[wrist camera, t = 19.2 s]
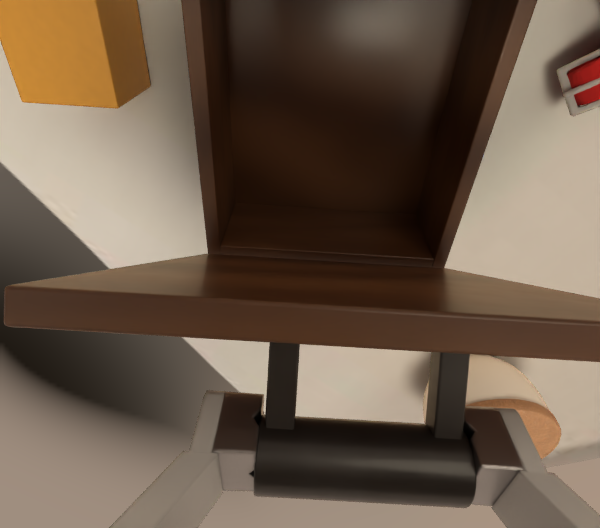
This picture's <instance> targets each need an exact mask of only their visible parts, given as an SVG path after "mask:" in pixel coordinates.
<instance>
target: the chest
mask: <svg viewBox="0 0 600 528" xmlns="http://www.w3.org/2000/svg"><path fill="white" fill-rule="evenodd" d="M181 2H182V11H183V21H184V30H185V40H186V49H187V59H188V68H189V78H190V87H191V96H192V106H193V115H194V125H195V134H196V144H197V153H198V163H199V172H200V182H201V191H202V200H203V210H204V219H205V229H206V238H207V248H208V254H223V255H239V256H255V257H271V258H287V259H304V260H320V261H336V262H352V263H368V264H384V265H401V266H417V267H433V268H444V267H445V264H446V261H447V258H448V255H449V252H450V249H451V246H452V244H453V241H454V238H455V235H456V232H457V229H458V226H459V224H460V221H461V218H462V215H463V212H464V209H465V206H466V203H467V201H468V198H469V195H470V192H471V189H472V186H473V183H474V180H475V178H476V175H477V172H478V169H479V166H480V163H481V160H482V157H483V155H484V152H485V149H486V146H487V143H488V140H489V137H490V135H491V132H492V129H493V126H494V123H495V120H496V117H497V114H498V112H499V109H500V106H501V103H502V100H503V97H504V94H505V91H506V89H507V86H508V83H509V80H510V77H511V74H512V71H513V69H514V66H515V63H516V60H517V57H518V54H519V51H520V48H521V46H522V43H523V40H524V37H525V34H526V31H527V28H528V25H529V23H530V20H531V17H532V14H533V11H534V8H535V5H536V3H537V0H181Z"/></svg>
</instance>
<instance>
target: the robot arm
mask: <svg viewBox="0 0 600 528" xmlns="http://www.w3.org/2000/svg"><path fill="white" fill-rule="evenodd" d="M263 406H264V394H252V393H238V392H226V391H210V390H207V391H206V393H205V395H204V397H203V401H202V405H201V409H200V412H199V416H198V419H197V423H196V427H195V431H194V434H193V438H192V442H191V445H190V449H189V451H183V452H182V453H181V454H180V455H179V456H178V457H177V458H176V459H175V460H174V461H173V462H172V463H171V464H170V465H169V466H168V467H167V468H166V469H165V470H164V471H163V472H162V473H161V475H160V476H159V477H158V478H157V479H156V480H155V481H154V482H153V483H152V484H151V485H150V486H149V487H148V488H147V489H146V490H145V491H144V492H143V493H142V494H141V495H140V496H139V497H138V498H137V500H135V502H134V503H133V504H132V505H131V506H130V507H129V508H128V509H127V510H126V511H125V512H124V513H123V514H122V515H121V516H120V517H119V518H118V519H117V520H116V521H115V522H114V523H113V524H112V525H111V526H110V527H109V528H198V527H199V525H200V524H201V523H202V521H203V520H204V519H205V517H206V516H207V514H208V513H209V511H210V510H211V509H212V507H213V506H214V505H215V503H216V502H217V500H218V499H219V498H220V496H221V495H222V493H223V490H228V491H254V466H255V462H256V452H257V443H258V435H259V421H260V418H261V416H262V415H263V414H264V411H263ZM463 431H464V432H465V434H466V436H467V438H468V440H469V442H470V445H471V448H472V452H473V456H474V461H475V467H476V493H475V497H474V500H473V502H472V504H474V505H486V506H492V509H493V510H494V512H495V513H496V514H497V516H498V517H499V518H500V520H501V521H502V522H503V523H504V524H505V526H506V527H507V528H600V515H599V514H598V513H597V512H596V511H595V510H594V509H593V508H592V507H591V506H589V505H588V504H587V503H586V502H585V501H584V500H583V499H582V498H581V497H580V496H578V495H577V494H576V493H575V492H574V491H573V490H572V489H571V488H570V487H569V486H567V485H566V484H565V483H564V482H563V481H562V480H561V479H560V478H559V477H558V476H556V475H555V474H554V473H550V472H547V470H546V468H545V466H544V464H543V462H542V460H541V458H540V455H539V453H538V451H537V449H536V447H535V445H534V443H533V441H532V439H531V437H530V435H529V433H528V431H527V429H526V427H525V425H524V422H523V420H522V418H521V416H520V414H519V413H518V412H517V411H516V410H515V409H512V408H493V407H482V406H465V414H464V425H463Z"/></svg>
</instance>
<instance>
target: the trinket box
mask: <svg viewBox="0 0 600 528" xmlns="http://www.w3.org/2000/svg"><path fill="white" fill-rule="evenodd" d="M428 386H429V382H428V384H427V386H426V389H425V393H424V399H423V414H424V422H425V421H426V410H427V398H428ZM465 406H482V407H493V408H512V409H515V410H516V411H517V412H518V413H519V414H520V416H521V418H522V420H523V422H524V425H525V427H526V429H527V431H528V433H529V435H530V437H531V439H532V441H533V443H534V445H535V447H536V449H537V451H538V453H539V455H540V458H541V459H542V458H544V457H546V456H547V455H548V454H549V453H551V452H552V451H553V450H554V449H555V447H556V446H557V445H558V443H559V441H560V437H561V428H560V426H559V424H558V422H557V420H556V418H555V417H554V415H553V414H552V413H551V412H550V411H549V409H548V407H547V405H546V403H545V401H544V400H543V398H542V396H541V395H540V393H539V392H538V391H537V389H536V388H535V386H534V385H533V384H532V383H531V382H530V381H529V380H528V378H527V377H526V376H525V375H524V374H523V373H522V372H520V371H519V370H518V369H517V368H515V367H514V366H512V365H511V364H509V363H507V362H505V361H503V360H500V359H498V358H494V357H492V356H490V355H474V354H470V360H469V370H468V381H467V392H466V403H465Z"/></svg>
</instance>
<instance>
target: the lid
mask: <svg viewBox="0 0 600 528" xmlns="http://www.w3.org/2000/svg"><path fill="white" fill-rule="evenodd" d="M4 324H5V325H6V326H10V327H24V328H40V329H58V330H74V331H90V332H107V333H124V334H140V335H157V336H158V335H159V336H175V337H190V338H207V339H224V340H240V341H257V342H270V347H269V364H268V381H267V398H266V415H264V414H263V415H262V416H261V418H260V421H259V435H258V443H257V452H256V462H255V466H254V495H255V496H261V497H278V498H296V499H313V500H333V501H349V502H367V503H385V504H402V505H420V506H421V505H422V506H439V507H456V508H467V507H469V506H470V505H471V504H472V502H473V500H474V497H475V493H476V467H475V461H474V456H473V452H472V448H471V445H470V442H469V440H468V438H467V436H466V434H465V432H464V431H463V425H464V414H465V403H466V392H467V381H468V370H469V360H470V354H474V355H491V356H508V357H525V358H541V359H558V360H575V361H591V362H600V299H599V298H594V297H589V296H584V295H579V294H574V293H569V292H564V291H559V290H553V289H548V288H543V287H538V286H533V285H528V284H523V283H518V282H513V281H508V280H503V279H497V278H492V277H487V276H482V275H477V274H472V273H467V272H462V271H457V270H452V269H447V268H433V267H417V266H401V265H384V264H368V263H352V262H336V261H320V260H304V259H287V258H271V257H255V256H239V255H223V254H202V255H196V256H190V257H183V258H177V259H171V260H165V261H158V262H152V263H146V264H140V265H133V266H127V267H121V268H114V269H108V270H102V271H96V272H90V273H83V274H77V275H70V276H64V277H59V278H52V279H46V280H39V281H33V282H27V283H20V284H14V285H9V286H7V287H6V288H5V290H4ZM300 344H307V345H324V346H341V347H357V348H374V349H391V350H408V351H424V352H431V362H430V374H429V386H428V398H427V410H426V421H425V424H419V423H402V422H385V421H367V420H350V419H333V418H316V417H299V416H295V411H296V395H297V379H298V363H299V347H300Z"/></svg>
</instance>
